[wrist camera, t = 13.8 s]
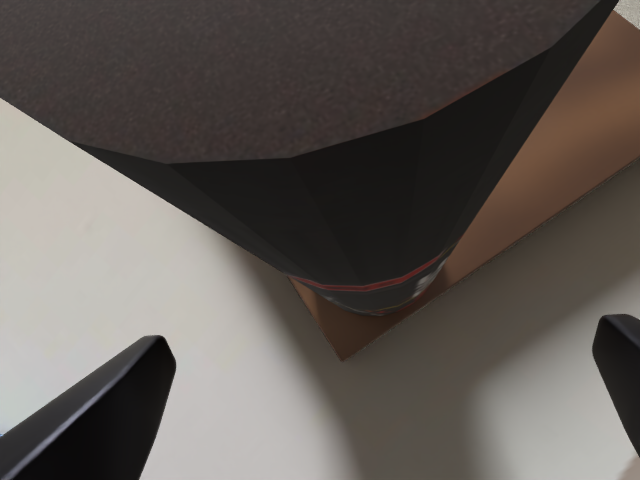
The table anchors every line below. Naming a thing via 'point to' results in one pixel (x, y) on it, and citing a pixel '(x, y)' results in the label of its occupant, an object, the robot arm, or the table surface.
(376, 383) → the table surface
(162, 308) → the table surface
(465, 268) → the board
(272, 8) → the deodorant
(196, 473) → the table surface
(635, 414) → the robot arm
